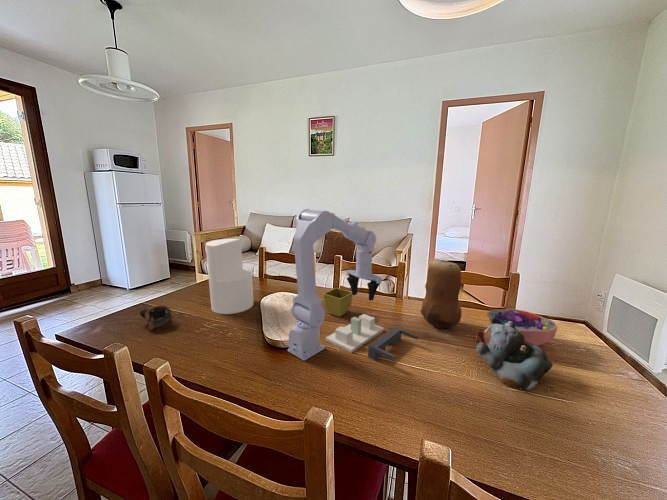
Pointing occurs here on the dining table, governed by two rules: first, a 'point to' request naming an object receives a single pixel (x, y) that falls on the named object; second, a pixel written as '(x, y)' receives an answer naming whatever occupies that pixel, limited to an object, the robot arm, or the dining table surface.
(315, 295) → the robot arm
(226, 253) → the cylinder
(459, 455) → the dining table surface
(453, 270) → the butternut squash
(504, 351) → the lucky cat figurine
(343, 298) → the flower pot
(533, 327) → the cell model
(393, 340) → the grey c-shaped bracket
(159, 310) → the pottery mug
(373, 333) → the stand
